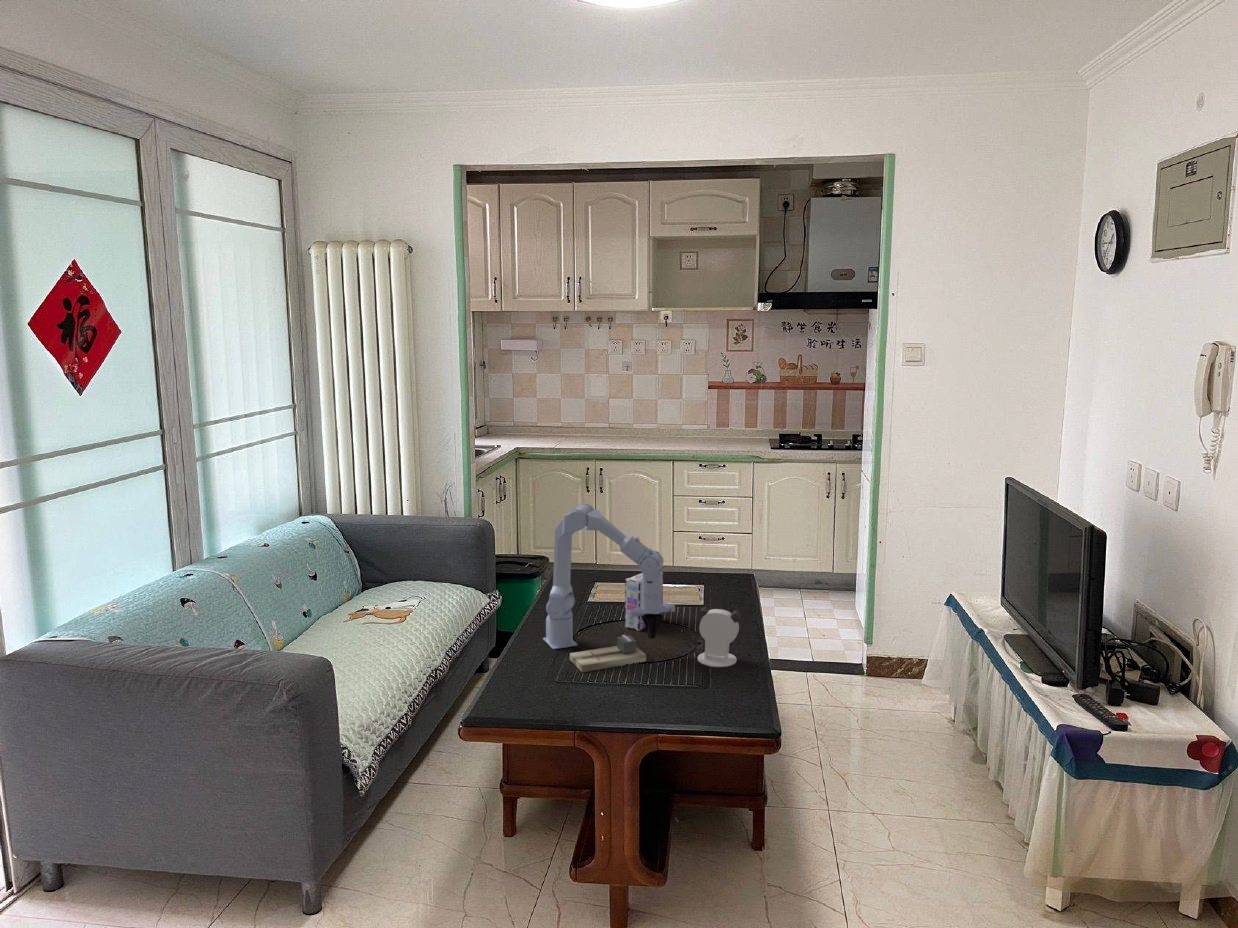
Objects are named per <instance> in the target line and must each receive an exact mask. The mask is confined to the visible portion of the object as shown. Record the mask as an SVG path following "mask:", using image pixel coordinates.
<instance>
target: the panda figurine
mask: <svg viewBox="0 0 1238 928" xmlns="http://www.w3.org/2000/svg"><path fill="white" fill-rule="evenodd" d="M698 615H699V617H700V618H701V619H700V623H699V634H700V636H701V637H702V639H704V652H702V653H700V654H698V656H697V661H698V662H699V663H700V664H702V665H704V666H708V667H713V668H726V667H730V666H731V667H732V666H733V665H735V664H736V663H737V660H738V659H737V657H736V656H735V655H734V654H732V653H729V652H730V647H731V646H732V645H733V642H734V640H735V639H736V638H737V636H738V634H739V631H740V625H739V621H740V620H741V617H742V616H741V612H740V611H739V610H736V609H735V610H733V611H732V612H731V611H728V610H725V609H722V608H720V609H719V608H713V609H708V607H706V606H704V607H701V609H700V611H699V613H698Z"/></svg>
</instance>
